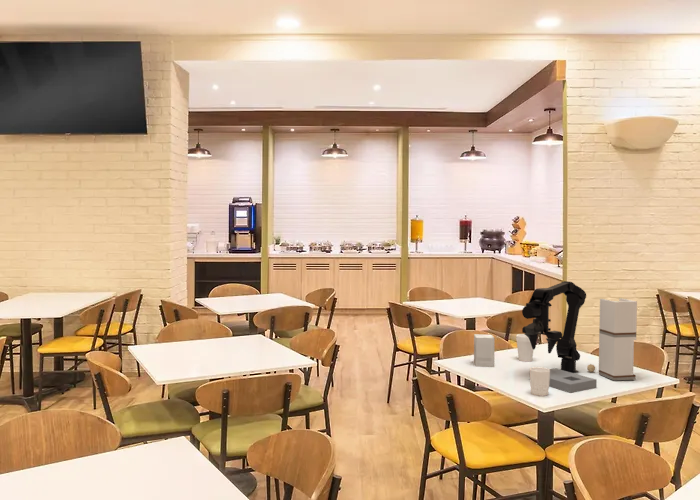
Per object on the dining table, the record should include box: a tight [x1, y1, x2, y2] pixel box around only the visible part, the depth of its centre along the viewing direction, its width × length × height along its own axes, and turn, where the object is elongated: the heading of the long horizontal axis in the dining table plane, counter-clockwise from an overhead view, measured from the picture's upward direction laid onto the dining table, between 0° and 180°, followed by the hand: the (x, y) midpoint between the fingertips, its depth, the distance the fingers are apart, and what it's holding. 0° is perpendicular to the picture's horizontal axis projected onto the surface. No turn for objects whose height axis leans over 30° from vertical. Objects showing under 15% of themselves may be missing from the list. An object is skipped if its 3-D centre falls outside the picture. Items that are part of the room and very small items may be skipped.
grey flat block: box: [548, 367, 598, 394], centre depth 248 cm, size 16×22×4 cm
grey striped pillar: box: [598, 297, 638, 381], centre depth 260 cm, size 11×11×35 cm
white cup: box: [529, 366, 550, 397], centre depth 234 cm, size 8×8×10 cm
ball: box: [586, 363, 596, 373], centre depth 270 cm, size 4×4×4 cm
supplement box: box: [473, 333, 495, 368], centre depth 281 cm, size 9×9×15 cm
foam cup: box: [515, 333, 535, 363], centre depth 291 cm, size 10×9×13 cm
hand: (541, 351), depth 259 cm, fingers open, 9 cm apart
